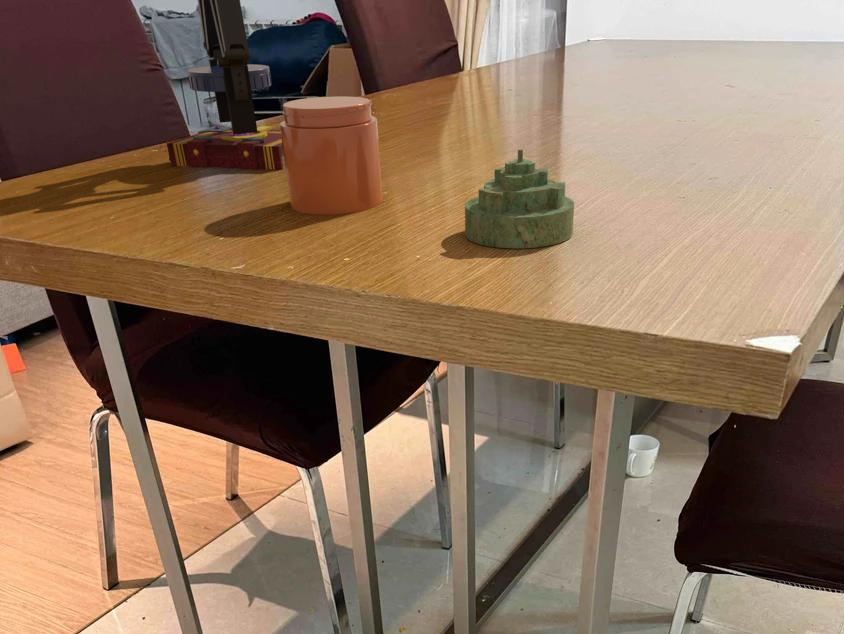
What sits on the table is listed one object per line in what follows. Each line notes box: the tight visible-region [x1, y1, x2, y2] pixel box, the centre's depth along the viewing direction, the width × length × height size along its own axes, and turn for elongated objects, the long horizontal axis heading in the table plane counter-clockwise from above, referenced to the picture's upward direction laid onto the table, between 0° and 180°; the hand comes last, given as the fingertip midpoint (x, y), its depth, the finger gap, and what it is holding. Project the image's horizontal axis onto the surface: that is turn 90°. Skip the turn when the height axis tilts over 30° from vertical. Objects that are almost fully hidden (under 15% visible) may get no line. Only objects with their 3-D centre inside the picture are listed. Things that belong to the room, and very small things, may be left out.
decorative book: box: [166, 125, 286, 171], centre depth 102 cm, size 11×16×5 cm
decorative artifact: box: [464, 148, 575, 250], centre depth 76 cm, size 10×7×10 cm
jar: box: [279, 95, 384, 215], centre depth 80 cm, size 9×9×10 cm
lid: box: [187, 63, 272, 93], centre depth 97 cm, size 9×9×2 cm
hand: (237, 126), depth 100 cm, fingers closed on lid, 9 cm apart
